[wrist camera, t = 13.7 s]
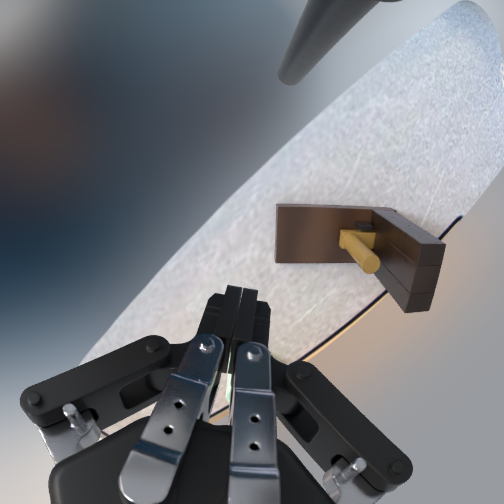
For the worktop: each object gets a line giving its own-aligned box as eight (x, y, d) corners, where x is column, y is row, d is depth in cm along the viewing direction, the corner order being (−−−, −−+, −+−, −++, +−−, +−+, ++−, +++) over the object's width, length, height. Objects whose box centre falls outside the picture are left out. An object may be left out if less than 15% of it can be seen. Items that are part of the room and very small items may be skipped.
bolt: (338, 245, 35) (360, 274, 27) (340, 229, 34) (363, 255, 27) (382, 245, 35) (412, 273, 28) (384, 230, 34) (415, 255, 27)
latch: (274, 258, 38) (286, 319, 25) (276, 203, 35) (291, 242, 22) (383, 258, 38) (432, 310, 25) (391, 207, 35) (450, 244, 23)
